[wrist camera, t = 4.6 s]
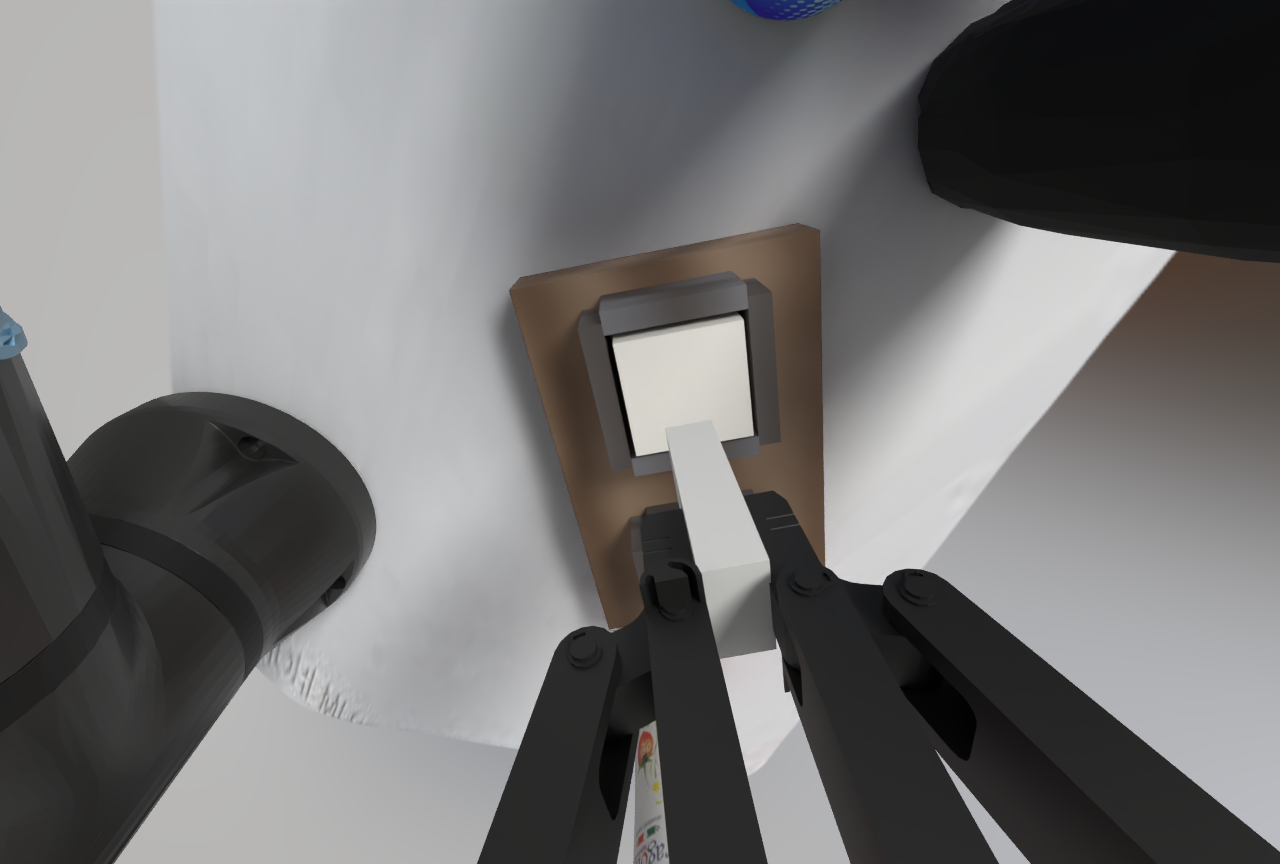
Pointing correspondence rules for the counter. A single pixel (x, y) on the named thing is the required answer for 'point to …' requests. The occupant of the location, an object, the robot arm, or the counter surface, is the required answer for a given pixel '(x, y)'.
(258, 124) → the counter surface
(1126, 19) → the black tapered cylinder
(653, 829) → the liquor
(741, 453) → the key panel
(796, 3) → the blue striped container
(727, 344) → the off-white key
